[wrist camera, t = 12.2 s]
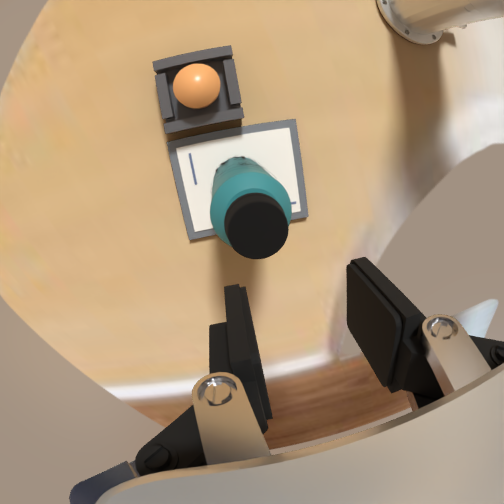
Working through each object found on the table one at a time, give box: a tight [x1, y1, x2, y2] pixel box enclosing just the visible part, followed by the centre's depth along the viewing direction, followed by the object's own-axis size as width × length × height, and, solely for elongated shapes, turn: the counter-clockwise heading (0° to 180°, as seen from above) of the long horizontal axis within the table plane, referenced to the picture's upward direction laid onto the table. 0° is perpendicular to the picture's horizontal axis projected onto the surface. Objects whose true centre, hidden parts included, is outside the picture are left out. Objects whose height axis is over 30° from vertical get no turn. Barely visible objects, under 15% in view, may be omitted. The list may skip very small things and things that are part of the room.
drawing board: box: [167, 119, 308, 240], centre depth 37 cm, size 16×13×1 cm
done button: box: [173, 64, 220, 109], centre depth 29 cm, size 5×5×2 cm
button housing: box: [153, 45, 244, 134], centre depth 31 cm, size 9×9×4 cm
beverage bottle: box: [210, 156, 292, 259], centre depth 28 cm, size 6×7×20 cm
